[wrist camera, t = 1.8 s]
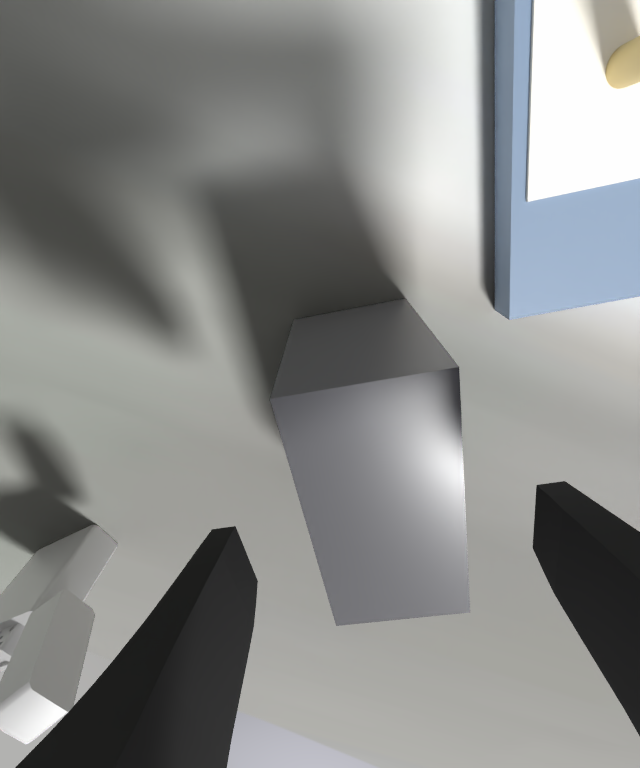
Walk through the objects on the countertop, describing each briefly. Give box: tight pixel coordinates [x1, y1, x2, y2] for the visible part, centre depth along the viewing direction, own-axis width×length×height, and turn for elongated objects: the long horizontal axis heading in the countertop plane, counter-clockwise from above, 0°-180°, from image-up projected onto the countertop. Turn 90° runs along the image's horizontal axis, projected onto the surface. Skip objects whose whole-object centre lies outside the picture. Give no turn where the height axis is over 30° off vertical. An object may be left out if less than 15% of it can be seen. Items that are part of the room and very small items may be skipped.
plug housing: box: [270, 298, 470, 626], centre depth 12 cm, size 4×8×6 cm, turn 12°
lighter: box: [0, 524, 118, 744], centre depth 15 cm, size 7×2×8 cm, turn 119°
